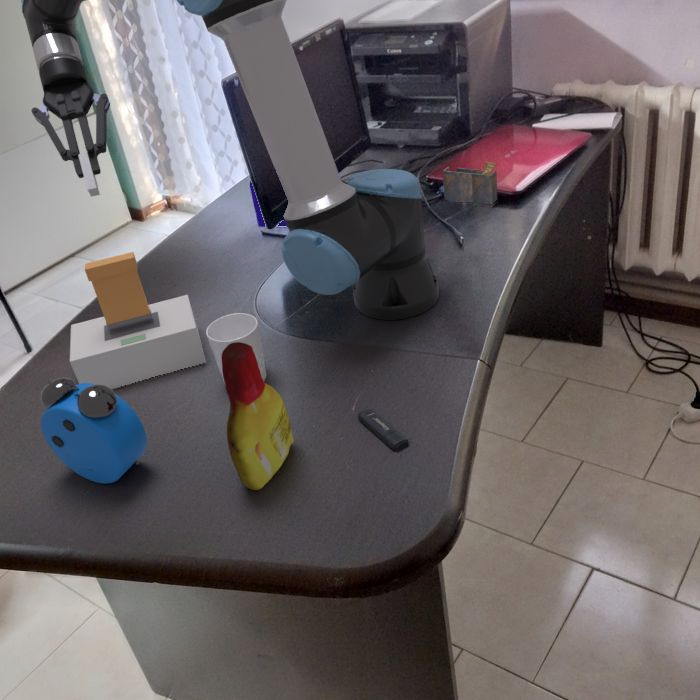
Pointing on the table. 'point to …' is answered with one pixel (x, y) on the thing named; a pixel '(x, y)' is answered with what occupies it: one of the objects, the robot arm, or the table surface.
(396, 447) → the usb stick
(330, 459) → the table surface
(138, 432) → the alarm clock
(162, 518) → the table surface
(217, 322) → the white cup
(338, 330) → the table surface
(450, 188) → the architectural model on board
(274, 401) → the bottle
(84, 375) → the white socket base
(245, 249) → the table surface
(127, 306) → the lever
